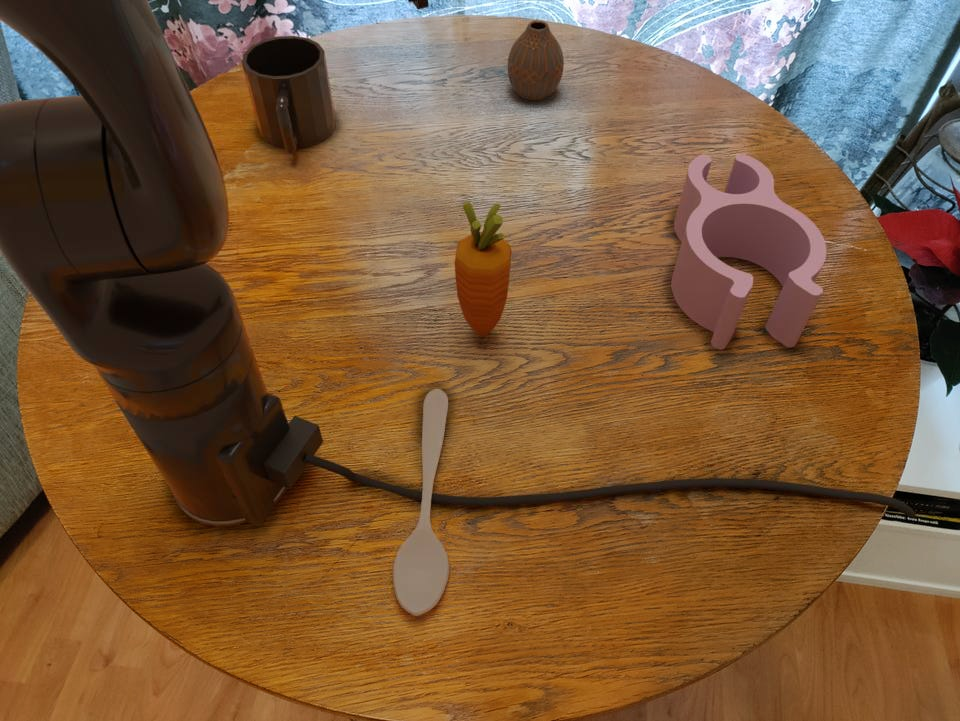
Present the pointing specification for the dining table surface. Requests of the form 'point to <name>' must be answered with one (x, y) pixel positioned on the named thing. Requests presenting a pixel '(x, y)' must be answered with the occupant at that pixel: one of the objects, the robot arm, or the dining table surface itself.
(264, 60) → the mug
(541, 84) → the vase
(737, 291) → the clip
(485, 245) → the carrot
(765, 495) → the dining table surface
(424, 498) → the spoon
